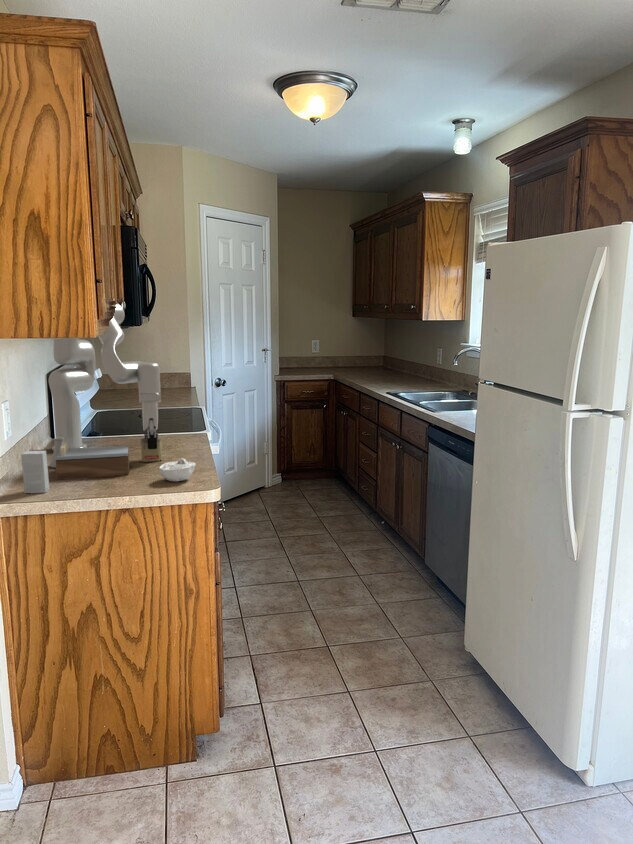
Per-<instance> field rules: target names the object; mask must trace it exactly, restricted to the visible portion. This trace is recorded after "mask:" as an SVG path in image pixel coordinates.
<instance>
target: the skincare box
mask: <svg viewBox="0 0 633 844" xmlns="http://www.w3.org/2000/svg"><path fill="white" fill-rule="evenodd" d="M20 459H21V467H22V479H23V489H24V490H23V491H24V492H23V493H24V494H25V493H31V494H45V493H47V492H48V491H49V490H50V481H49V470H48V458H47V450H30V451H27V450H26V451H24V452H23V453H21V454H20Z"/></svg>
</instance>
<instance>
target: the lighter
mask: <svg viewBox="0 0 633 844" xmlns="http://www.w3.org/2000/svg"><path fill="white" fill-rule="evenodd" d="M149 436H150V435H149ZM147 437H148V433H144V437H143V438H142V439H140V441H141V442H140V446H141V447H140V449H141V462H143V463H144V462H145V463H146V462H147V463H149V462H150V463H151V462H159V461H160V460H161V461H162V460H163V454H162V451H163V450H162V438H161V437H159V433H158V432H156V438H157V449H148V443H147ZM161 461H160V462H161Z"/></svg>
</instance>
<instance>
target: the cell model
mask: <svg viewBox="0 0 633 844" xmlns="http://www.w3.org/2000/svg"><path fill="white" fill-rule="evenodd" d="M195 467H196V462H192V461H187V460H186V459H185V458H183V457H181V458H179V459H178V460H177V461H168V462H165V463H163V464H161V465H160V466H158V471H159V474H160V476H161V477H162V478H164V479H165V480H167V481H169V482H181V481H186V480H188V479H189V478H190V477H191V476H192V474H193V473H194V471H195Z"/></svg>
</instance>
